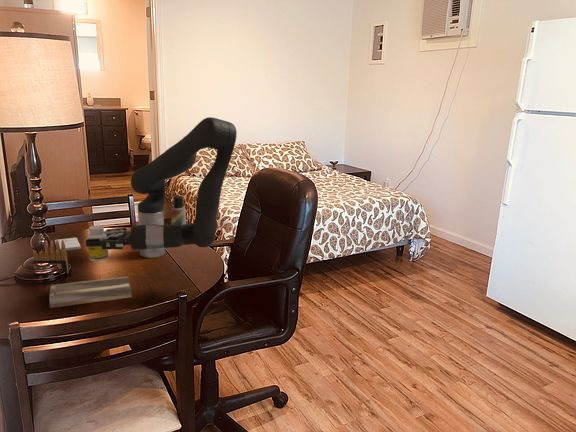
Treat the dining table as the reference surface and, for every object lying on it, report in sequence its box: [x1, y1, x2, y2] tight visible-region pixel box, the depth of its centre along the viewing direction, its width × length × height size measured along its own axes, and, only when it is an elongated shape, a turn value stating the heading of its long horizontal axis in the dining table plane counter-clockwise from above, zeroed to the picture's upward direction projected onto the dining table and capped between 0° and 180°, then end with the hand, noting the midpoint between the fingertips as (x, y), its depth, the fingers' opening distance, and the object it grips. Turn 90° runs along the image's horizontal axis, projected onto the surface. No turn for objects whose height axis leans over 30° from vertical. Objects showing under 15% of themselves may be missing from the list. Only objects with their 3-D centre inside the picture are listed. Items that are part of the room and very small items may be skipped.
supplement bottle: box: [86, 224, 110, 262], centre depth 134 cm, size 5×5×10 cm
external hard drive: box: [54, 237, 82, 251], centre depth 179 cm, size 2×8×12 cm
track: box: [48, 275, 132, 309], centre depth 137 cm, size 10×22×3 cm, turn 114°
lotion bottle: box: [170, 195, 187, 225], centre depth 185 cm, size 6×6×20 cm
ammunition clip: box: [32, 239, 70, 275], centre depth 150 cm, size 11×2×12 cm, turn 98°
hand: (88, 239), depth 133 cm, fingers closed on supplement bottle, 5 cm apart
